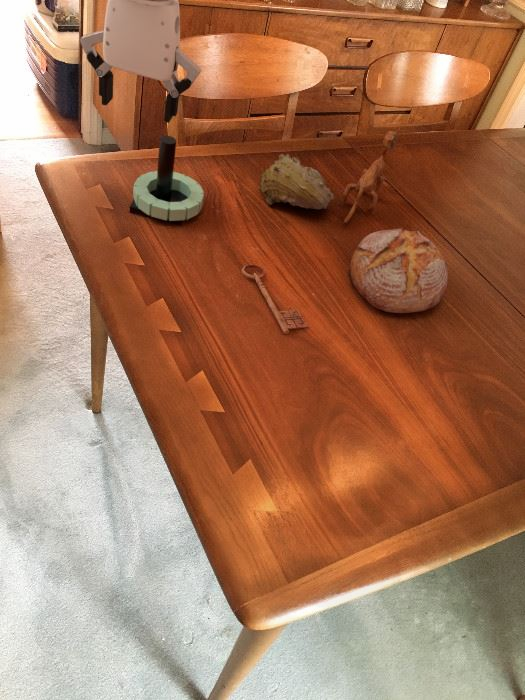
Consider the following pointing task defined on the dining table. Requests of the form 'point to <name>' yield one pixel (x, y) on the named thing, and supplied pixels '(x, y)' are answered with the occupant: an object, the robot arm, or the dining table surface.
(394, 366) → the dining table surface
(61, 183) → the dining table surface
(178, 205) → the ring
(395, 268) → the bread
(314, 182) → the seashell
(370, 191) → the dinosaur figurine
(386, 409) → the dining table surface
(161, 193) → the post
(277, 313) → the key
